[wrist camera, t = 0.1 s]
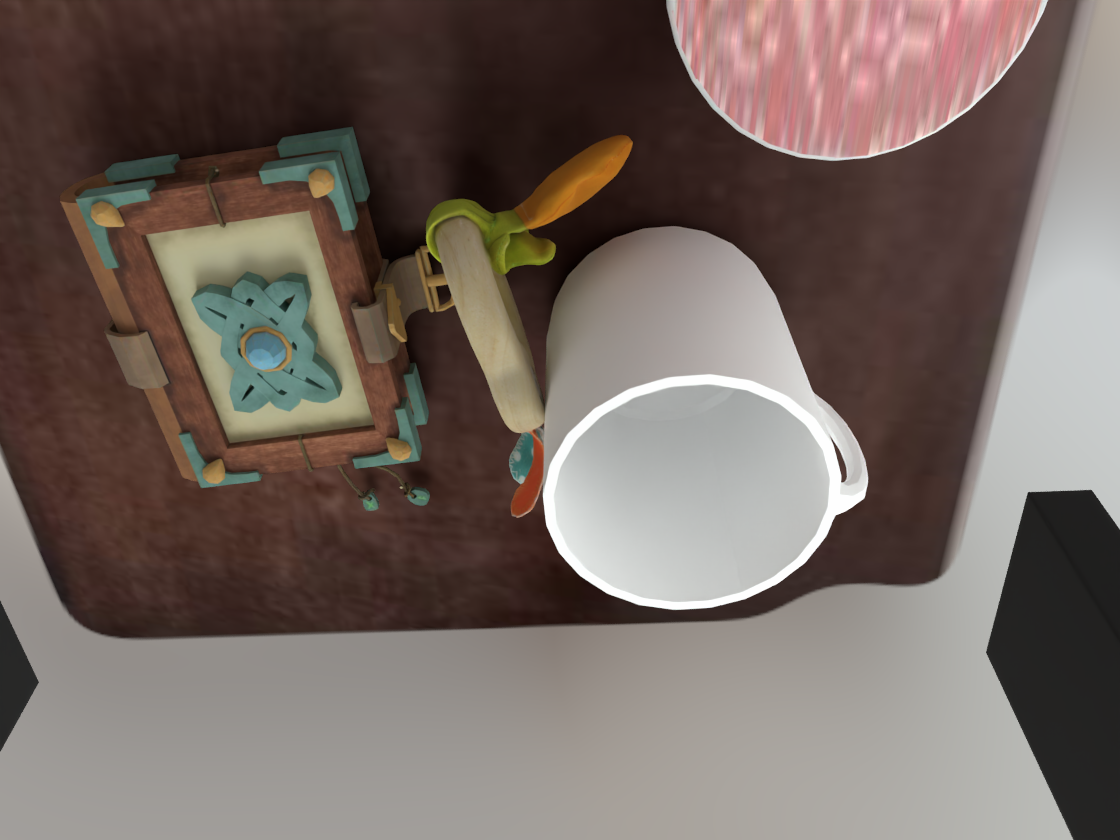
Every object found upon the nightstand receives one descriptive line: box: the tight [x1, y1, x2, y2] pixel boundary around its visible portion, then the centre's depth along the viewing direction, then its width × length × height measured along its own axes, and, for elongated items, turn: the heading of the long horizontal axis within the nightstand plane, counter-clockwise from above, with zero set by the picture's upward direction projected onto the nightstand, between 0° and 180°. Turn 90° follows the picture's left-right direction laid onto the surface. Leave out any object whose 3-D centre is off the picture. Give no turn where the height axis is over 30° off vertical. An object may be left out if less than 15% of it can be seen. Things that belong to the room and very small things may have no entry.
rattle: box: [426, 135, 633, 517], centre depth 38 cm, size 8×8×12 cm
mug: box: [543, 226, 868, 610], centre depth 37 cm, size 9×12×12 cm
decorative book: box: [60, 127, 455, 511], centre depth 41 cm, size 13×18×5 cm
